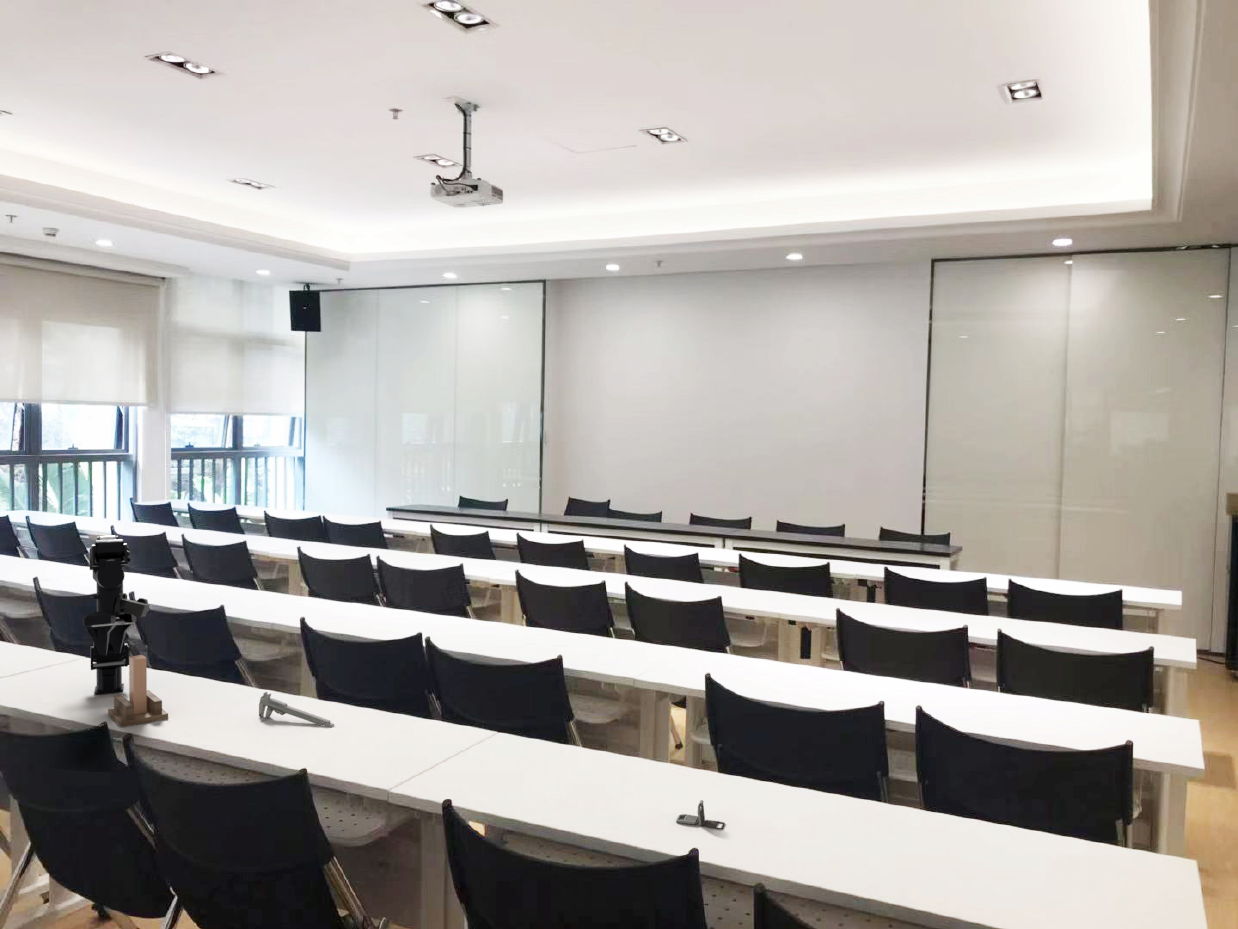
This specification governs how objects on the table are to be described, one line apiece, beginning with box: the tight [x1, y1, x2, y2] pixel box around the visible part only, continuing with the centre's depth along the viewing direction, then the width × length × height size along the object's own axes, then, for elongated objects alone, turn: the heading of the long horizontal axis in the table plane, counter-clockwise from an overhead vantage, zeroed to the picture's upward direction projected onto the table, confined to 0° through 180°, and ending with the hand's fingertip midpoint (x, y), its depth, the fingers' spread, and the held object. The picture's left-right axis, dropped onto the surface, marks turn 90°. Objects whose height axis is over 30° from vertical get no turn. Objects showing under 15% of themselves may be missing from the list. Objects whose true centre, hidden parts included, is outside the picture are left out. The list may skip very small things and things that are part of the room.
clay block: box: [128, 654, 148, 714], centre depth 218 cm, size 4×3×13 cm
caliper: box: [258, 691, 335, 728], centre depth 216 cm, size 20×1×6 cm, turn 72°
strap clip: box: [675, 799, 726, 831], centre depth 165 cm, size 8×3×4 cm, turn 73°
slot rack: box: [107, 689, 169, 728], centre depth 218 cm, size 12×10×4 cm
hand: (111, 654), depth 225 cm, fingers open, 9 cm apart
